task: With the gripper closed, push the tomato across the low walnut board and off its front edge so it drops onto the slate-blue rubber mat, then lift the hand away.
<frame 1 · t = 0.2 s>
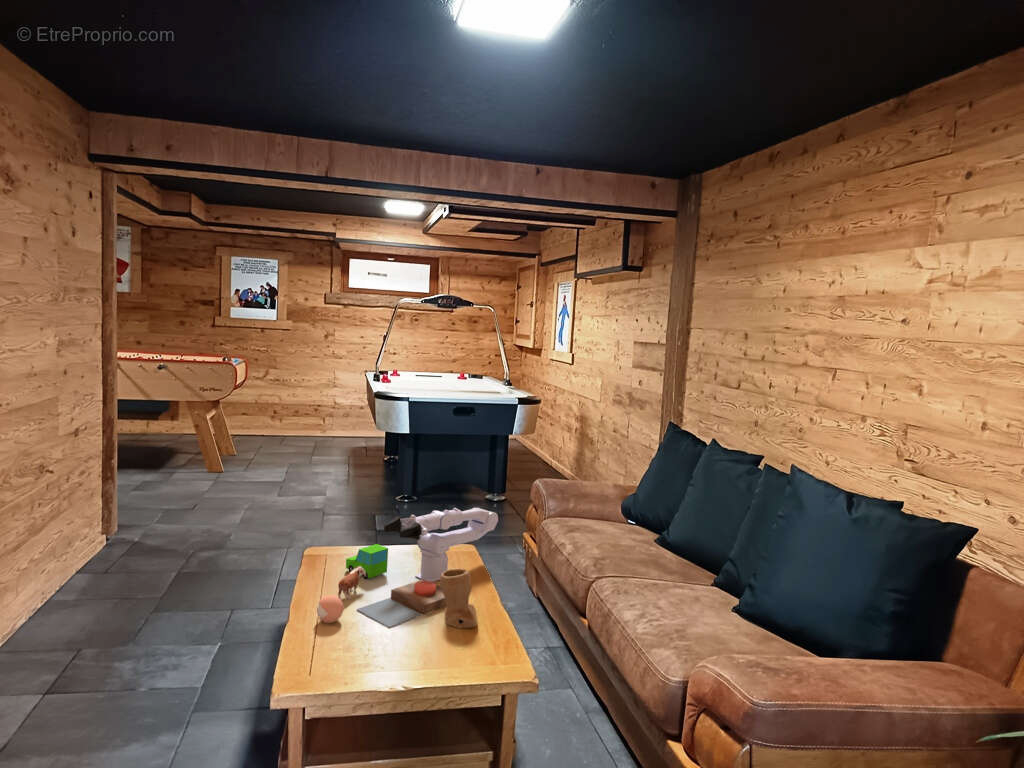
hand: (392, 531, 216), 21 cm above the table, tool horizontal, fingers open, 7 cm apart
bull figurine: (350, 595, 214), on the table
board: (423, 600, 213), on the table
mat: (389, 612, 202), on the table
brown boot: (457, 619, 201), on the table
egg: (329, 622, 194), on the table
toy car: (365, 573, 233), on the table
tomato: (424, 591, 213), point 3 cm above the table, touching board
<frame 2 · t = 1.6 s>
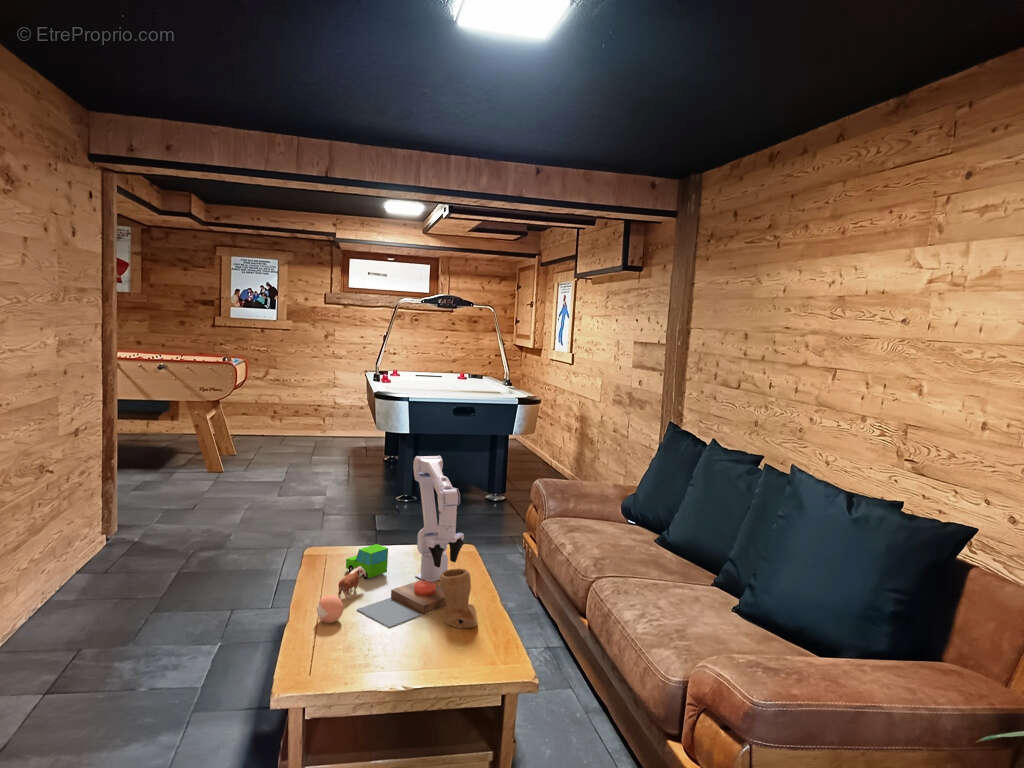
hand: (445, 564, 218), 10 cm above the table, tool pointing down, fingers open, 7 cm apart
nothing on the table moved.
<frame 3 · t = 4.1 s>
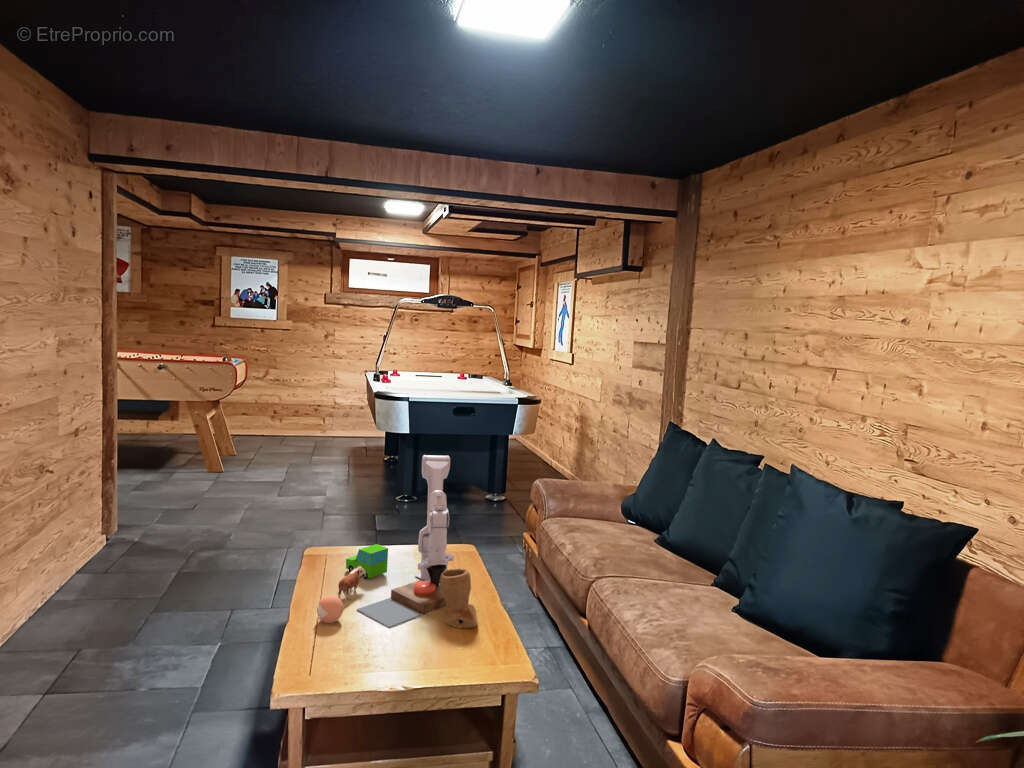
hand: (434, 585, 216), 4 cm above the table, tool pointing down, fingers closed
tomato: (424, 591, 213), point 3 cm above the table, touching board, gripper
everything else where it was.
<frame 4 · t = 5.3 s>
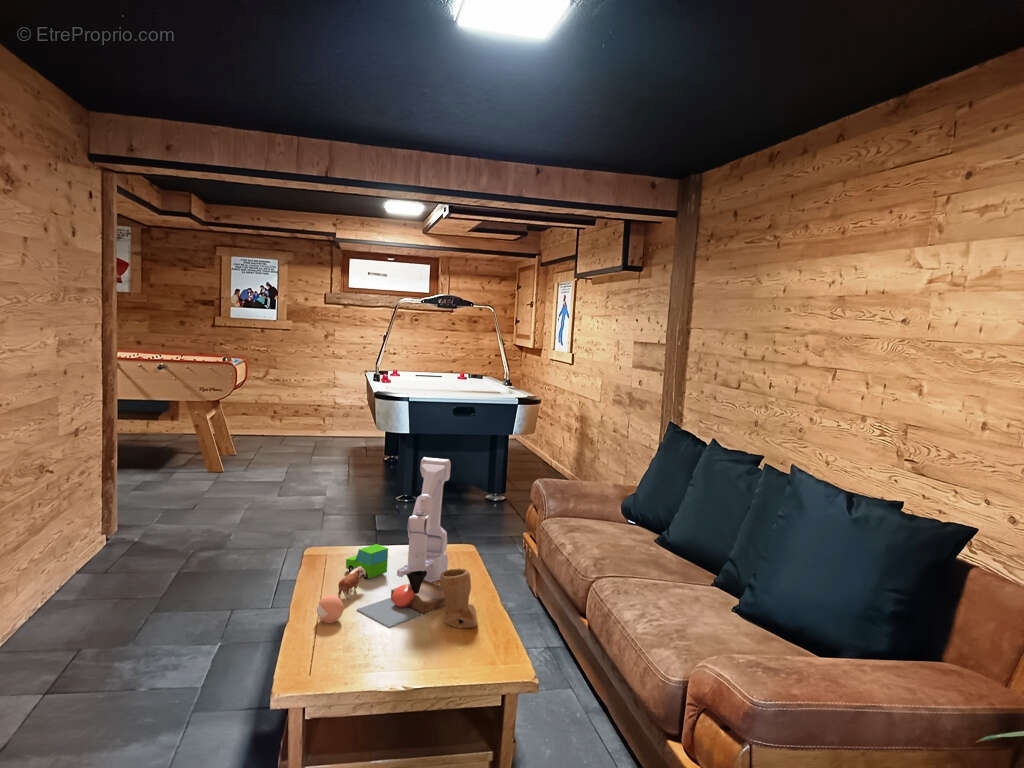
hand: (415, 592, 210), 4 cm above the table, tool pointing down, fingers closed
tomato: (404, 598, 207), point 3 cm above the table, tilted 40°, touching board, gripper
everything else where it was.
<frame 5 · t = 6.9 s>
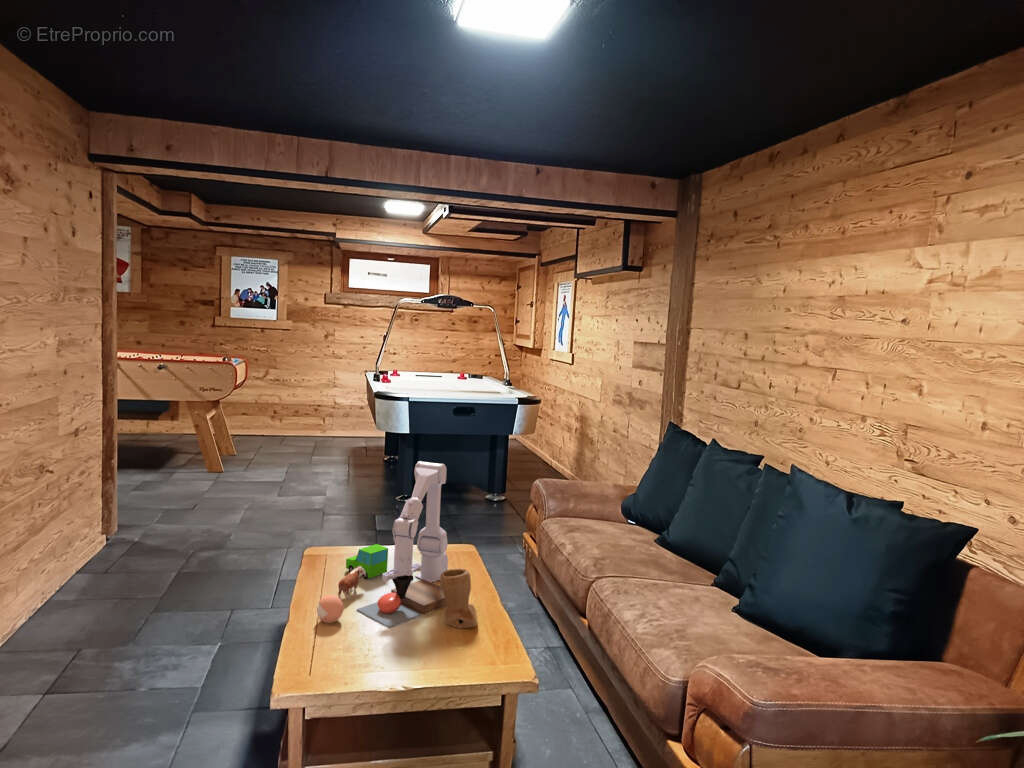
hand: (401, 597, 205), 4 cm above the table, tool pointing down, fingers closed
tomato: (390, 605, 203), point 2 cm above the table, tilted 23°, touching gripper, mat
everything else where it was.
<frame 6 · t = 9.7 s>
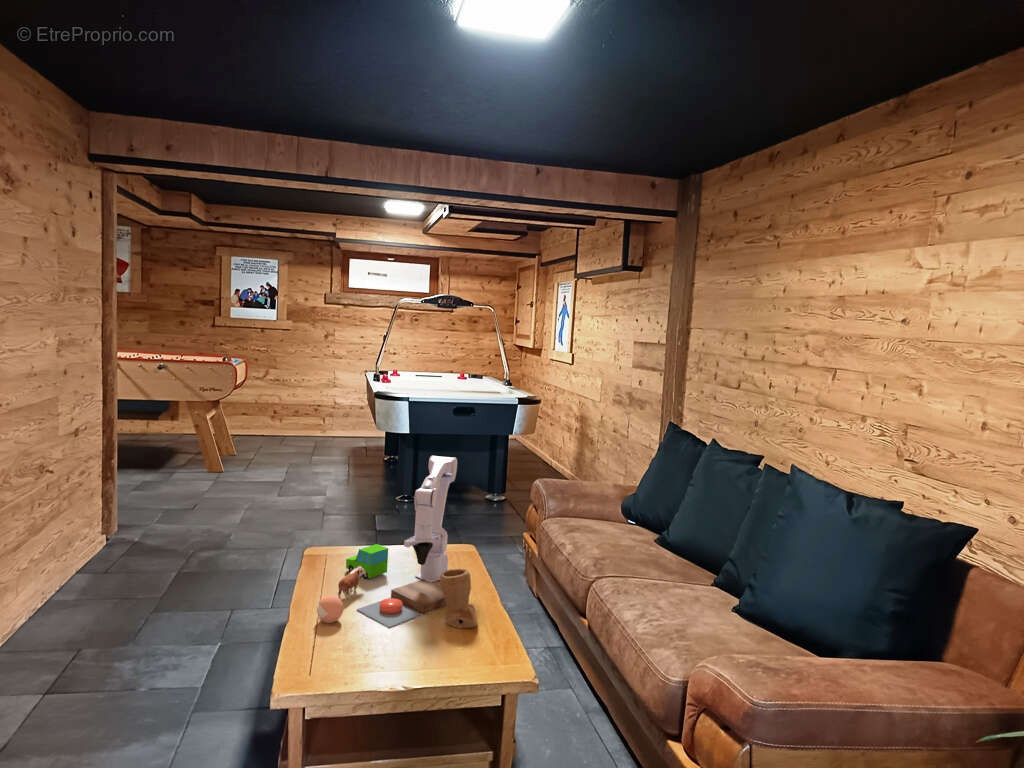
hand: (421, 563, 217), 10 cm above the table, tool pointing down, fingers closed
tomato: (390, 609, 204), resting on mat
everything else where it was.
at the end: tomato inside the target area (1.6 cm from its centre), resting on mat; tomato touching mat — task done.
